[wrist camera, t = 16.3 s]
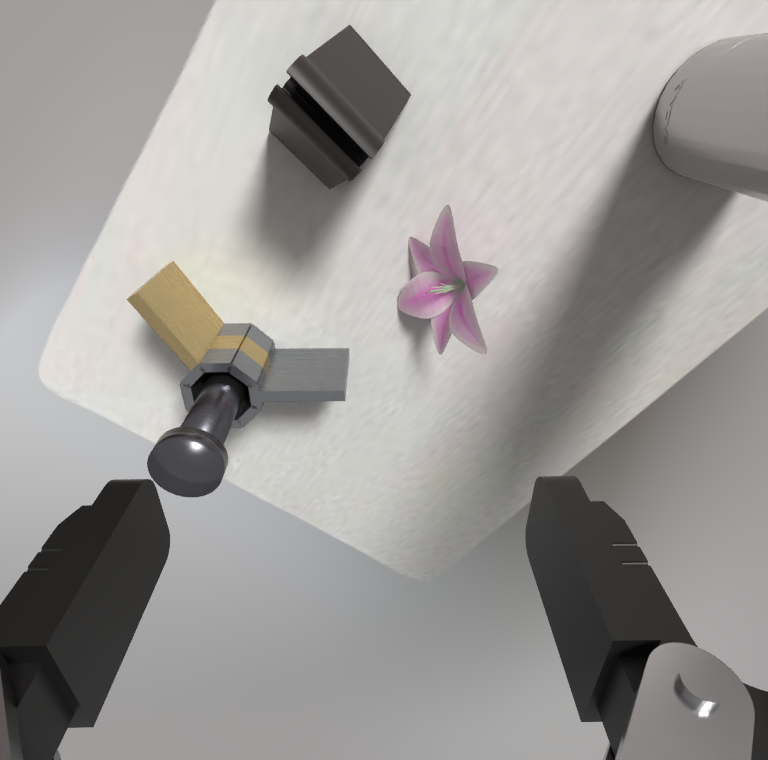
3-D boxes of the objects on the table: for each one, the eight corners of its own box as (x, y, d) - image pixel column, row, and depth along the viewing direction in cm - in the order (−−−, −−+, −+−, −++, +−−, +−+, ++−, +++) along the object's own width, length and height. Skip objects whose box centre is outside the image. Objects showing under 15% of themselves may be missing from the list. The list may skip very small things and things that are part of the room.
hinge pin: (265, 330, 46) (215, 440, 32) (271, 375, 48) (227, 496, 34) (212, 330, 46) (139, 440, 32) (221, 375, 48) (156, 497, 34)
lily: (456, 173, 40) (407, 201, 34) (563, 256, 40) (533, 300, 33) (396, 273, 48) (347, 312, 42) (485, 345, 47) (449, 394, 41)
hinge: (345, 260, 43) (339, 291, 36) (350, 381, 49) (346, 426, 42) (163, 261, 42) (124, 292, 36) (190, 382, 49) (162, 428, 42)
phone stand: (329, 188, 40) (313, 225, 29) (269, 129, 38) (228, 146, 27) (411, 95, 37) (425, 99, 26) (350, 24, 34) (339, -1, 24)
